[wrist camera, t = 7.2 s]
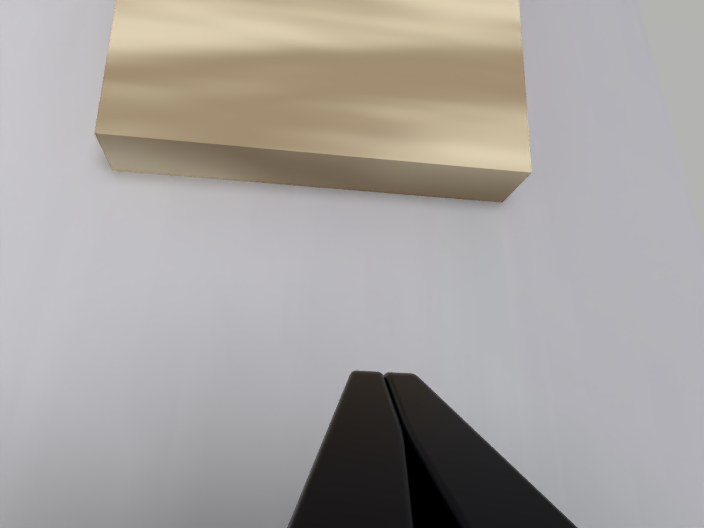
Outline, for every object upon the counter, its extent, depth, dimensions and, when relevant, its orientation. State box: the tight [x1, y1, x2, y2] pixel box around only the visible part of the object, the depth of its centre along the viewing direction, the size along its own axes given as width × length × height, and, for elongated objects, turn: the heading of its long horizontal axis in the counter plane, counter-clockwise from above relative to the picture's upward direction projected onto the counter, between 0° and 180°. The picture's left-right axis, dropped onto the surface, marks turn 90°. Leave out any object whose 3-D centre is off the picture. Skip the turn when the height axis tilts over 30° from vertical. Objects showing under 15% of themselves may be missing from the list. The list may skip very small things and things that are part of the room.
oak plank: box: [95, 0, 532, 202], centre depth 22 cm, size 3×14×8 cm
